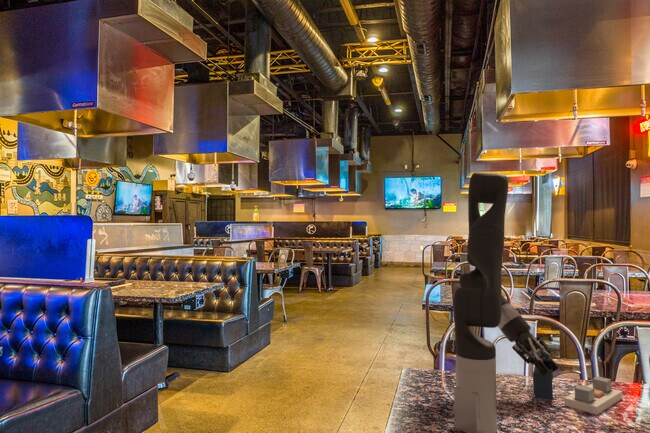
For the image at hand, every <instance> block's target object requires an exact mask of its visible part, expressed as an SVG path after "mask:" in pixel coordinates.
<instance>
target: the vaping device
mask: <svg viewBox="0 0 650 433" xmlns="http://www.w3.org/2000/svg"><path fill="white" fill-rule="evenodd" d="M550 357H551V356H550ZM550 357H549V355H548V354H545V357H543V360H542V362H543V363H544V365H545V366H546V367H547V368H548V369H549V373H548V374H546V375H545V376H543V375H542V374H541V373H540V371H539V370H538V369H537V368H536V366H534V367H533V372H532V384H533V385H532V387H533V390H532V392H533V395H534V398H537V399H548V400H553V399H554V394H553V393H554V392H553V391H554V390H553V380H554V372H552V360H553V358H552V357H551V358H550Z"/></svg>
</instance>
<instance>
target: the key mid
mask: <svg viewBox="0 0 650 433" xmlns="http://www.w3.org/2000/svg"><path fill="white" fill-rule="evenodd" d="M594 397H595V398H599V399H600V398H601V397H603V391H600V390H596V389H594Z"/></svg>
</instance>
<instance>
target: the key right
mask: <svg viewBox="0 0 650 433" xmlns="http://www.w3.org/2000/svg"><path fill="white" fill-rule="evenodd" d="M592 384H593V388H594V389H596V390H600V391H604V392H608V391H609V390H611V389H612V379H611V378H606V377H602V376H597V375H596V376H594V377H593V378H592Z"/></svg>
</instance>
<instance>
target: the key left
mask: <svg viewBox="0 0 650 433" xmlns="http://www.w3.org/2000/svg"><path fill="white" fill-rule="evenodd" d="M586 386H587V385H586ZM586 386H585V385H581V384H579V385H577V386H575V387H574V392H575V399H579V400H583V401H586V402H591V401H592V400H594V399H595V398H594V388H590V387H586Z"/></svg>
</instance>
